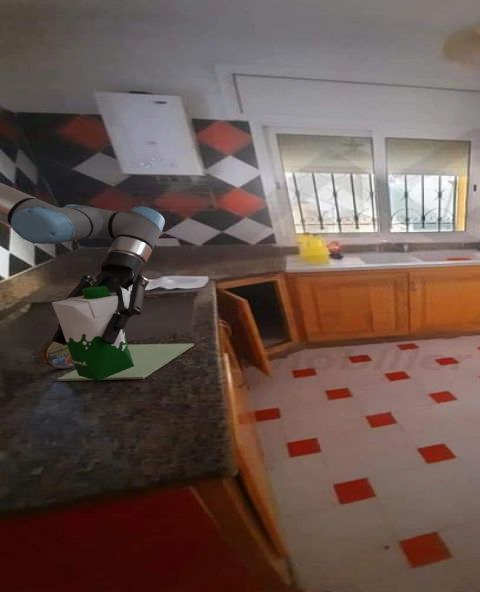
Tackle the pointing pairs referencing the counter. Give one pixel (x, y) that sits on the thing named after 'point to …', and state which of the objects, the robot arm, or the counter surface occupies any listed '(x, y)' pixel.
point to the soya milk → (93, 333)
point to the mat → (141, 361)
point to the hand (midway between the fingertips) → (83, 342)
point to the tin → (56, 355)
